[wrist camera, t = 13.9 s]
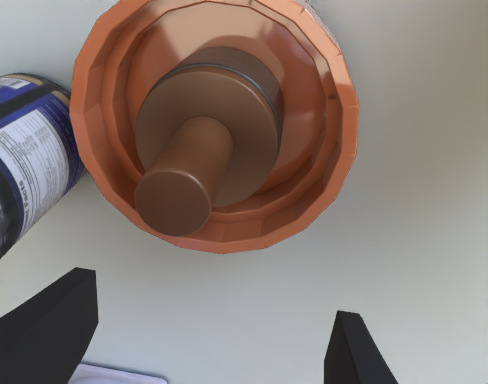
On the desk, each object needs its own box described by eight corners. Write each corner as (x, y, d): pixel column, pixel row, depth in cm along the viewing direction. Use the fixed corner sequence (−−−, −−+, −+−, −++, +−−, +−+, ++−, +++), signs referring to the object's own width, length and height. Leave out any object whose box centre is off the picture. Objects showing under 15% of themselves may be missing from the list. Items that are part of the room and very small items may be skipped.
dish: (323, 225, 23) (326, 272, 20) (110, 190, 24) (76, 230, 20) (378, -11, 18) (396, -4, 15) (103, -47, 19) (57, -49, 15)
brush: (279, 171, 22) (264, 294, 14) (165, 161, 22) (86, 274, 14) (290, 51, 19) (279, 116, 11) (160, 42, 19) (61, 98, 12)
